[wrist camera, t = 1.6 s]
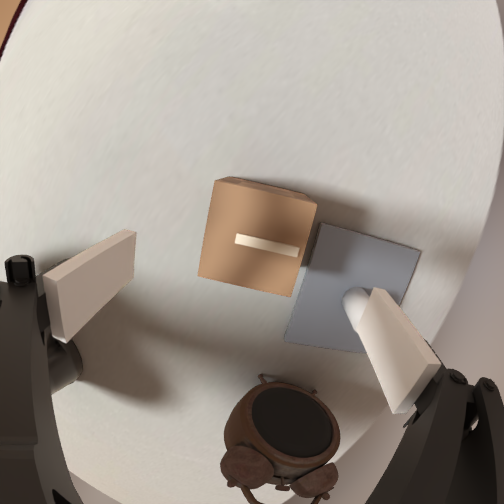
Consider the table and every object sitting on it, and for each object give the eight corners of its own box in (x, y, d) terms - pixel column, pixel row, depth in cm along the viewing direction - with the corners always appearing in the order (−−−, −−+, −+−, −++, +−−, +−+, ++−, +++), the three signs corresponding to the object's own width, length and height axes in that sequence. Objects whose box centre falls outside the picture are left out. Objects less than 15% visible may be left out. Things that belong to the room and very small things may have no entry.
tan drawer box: (214, 248, 30) (196, 277, 22) (229, 176, 28) (214, 180, 20) (285, 264, 30) (290, 298, 23) (304, 193, 28) (318, 205, 20)
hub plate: (284, 336, 33) (286, 367, 28) (320, 222, 29) (332, 236, 23) (372, 350, 34) (386, 378, 28) (416, 249, 29) (441, 267, 23)
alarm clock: (336, 384, 36) (362, 501, 17) (312, 412, 38) (324, 519, 19) (245, 357, 35) (228, 493, 16) (227, 389, 37) (206, 508, 18)
